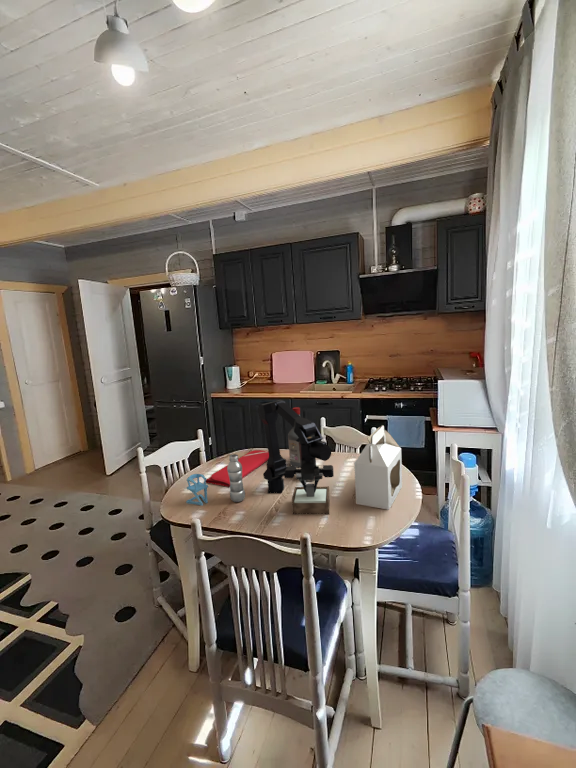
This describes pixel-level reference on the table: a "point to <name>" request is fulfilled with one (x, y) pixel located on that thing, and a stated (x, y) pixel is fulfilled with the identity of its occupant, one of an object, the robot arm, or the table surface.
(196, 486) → the chair
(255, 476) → the table surface
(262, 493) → the table surface
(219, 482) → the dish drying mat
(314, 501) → the cover plate
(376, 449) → the gable box
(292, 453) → the liquor
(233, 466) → the plastic bottle
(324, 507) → the walnut box
